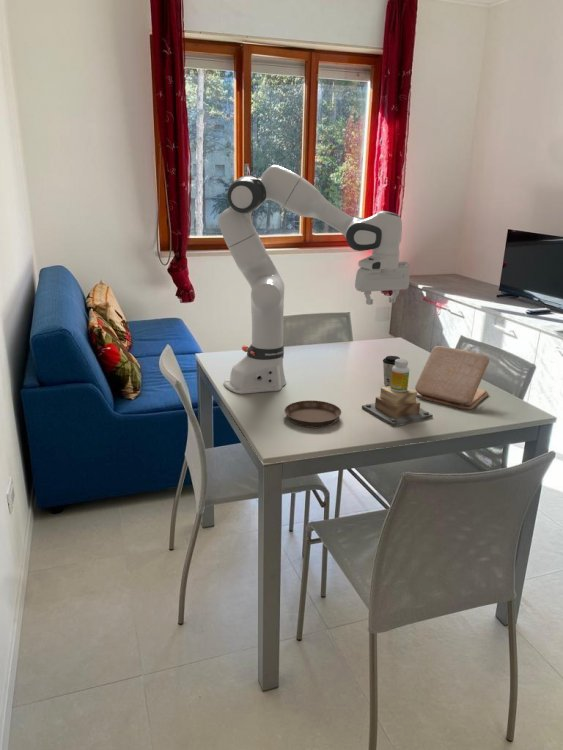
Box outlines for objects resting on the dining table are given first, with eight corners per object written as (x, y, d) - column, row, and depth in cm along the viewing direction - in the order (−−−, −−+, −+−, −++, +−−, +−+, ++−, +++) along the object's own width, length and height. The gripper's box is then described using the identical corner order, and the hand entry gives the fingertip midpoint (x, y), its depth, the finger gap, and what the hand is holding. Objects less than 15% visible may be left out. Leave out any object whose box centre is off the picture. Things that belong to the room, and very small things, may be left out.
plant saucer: (272, 419, 182) (272, 410, 181) (308, 404, 195) (308, 395, 194) (317, 436, 171) (317, 426, 170) (351, 419, 184) (352, 410, 183)
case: (411, 397, 203) (416, 353, 198) (436, 381, 219) (441, 340, 214) (468, 413, 192) (476, 366, 186) (490, 395, 208) (497, 352, 202)
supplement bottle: (403, 393, 183) (406, 364, 180) (387, 390, 186) (390, 361, 182) (409, 388, 187) (412, 360, 184) (393, 385, 190) (396, 356, 187)
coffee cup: (387, 387, 211) (389, 361, 208) (377, 381, 217) (379, 355, 214) (403, 385, 214) (406, 359, 210) (393, 379, 220) (395, 354, 216)
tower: (392, 426, 179) (395, 402, 176) (361, 408, 192) (363, 385, 189) (432, 417, 186) (435, 394, 183) (399, 400, 199) (402, 378, 197)
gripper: (403, 260, 200) (399, 299, 205) (354, 261, 191) (350, 303, 196) (415, 262, 195) (410, 303, 200) (365, 264, 186) (361, 307, 191)
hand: (380, 303), depth 198 cm, fingers open, 8 cm apart
